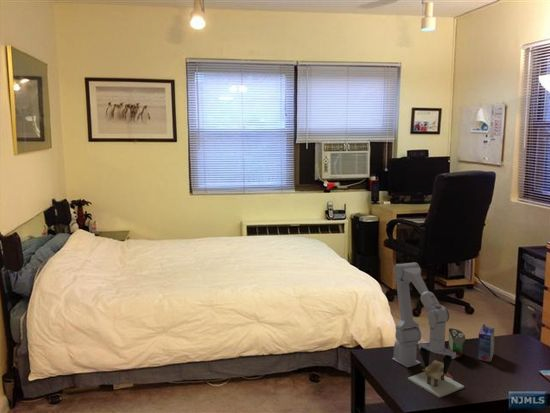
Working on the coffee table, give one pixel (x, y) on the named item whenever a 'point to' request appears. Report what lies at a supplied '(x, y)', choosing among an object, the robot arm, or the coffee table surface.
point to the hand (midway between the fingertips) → (435, 369)
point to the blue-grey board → (442, 388)
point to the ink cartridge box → (486, 344)
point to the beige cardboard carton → (434, 372)
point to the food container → (456, 341)
